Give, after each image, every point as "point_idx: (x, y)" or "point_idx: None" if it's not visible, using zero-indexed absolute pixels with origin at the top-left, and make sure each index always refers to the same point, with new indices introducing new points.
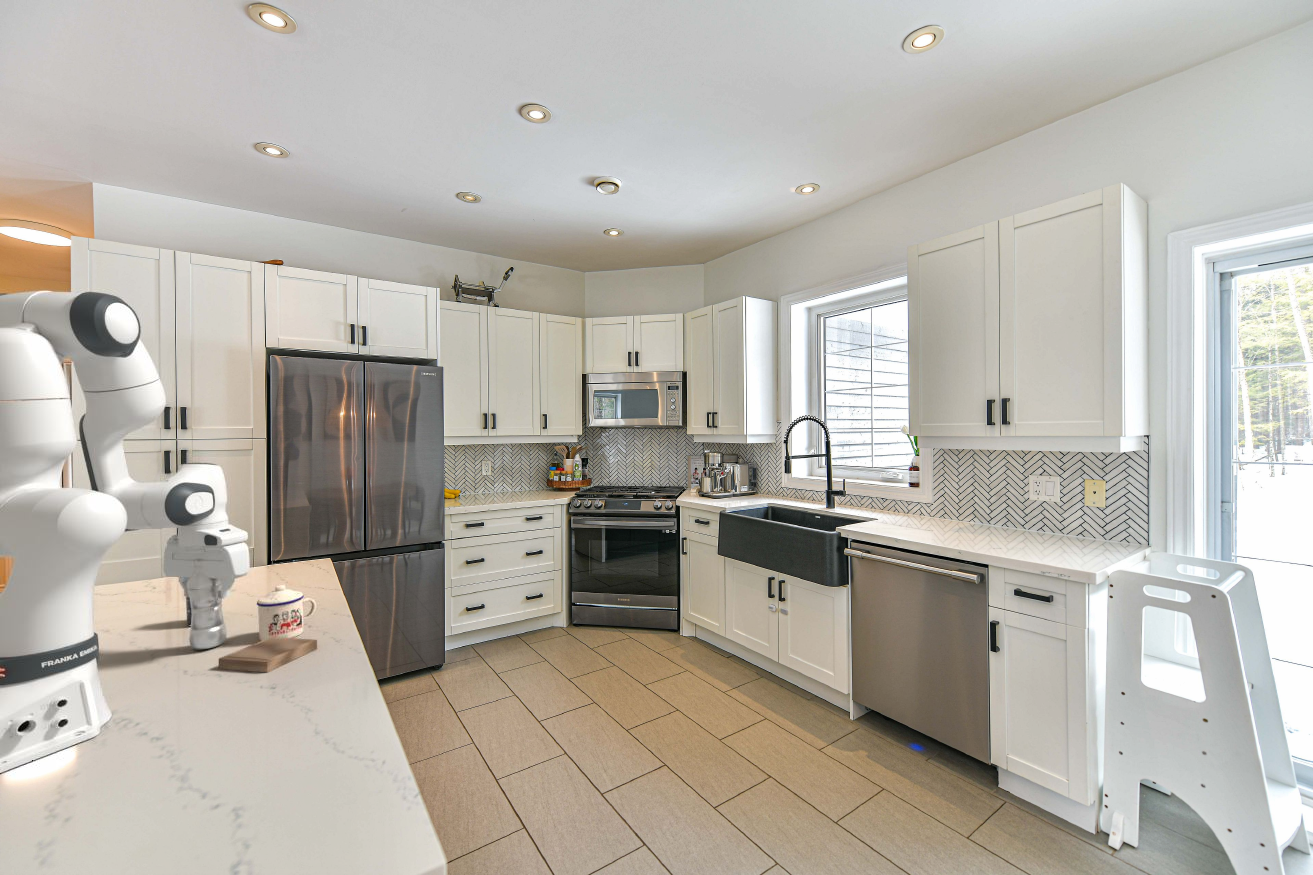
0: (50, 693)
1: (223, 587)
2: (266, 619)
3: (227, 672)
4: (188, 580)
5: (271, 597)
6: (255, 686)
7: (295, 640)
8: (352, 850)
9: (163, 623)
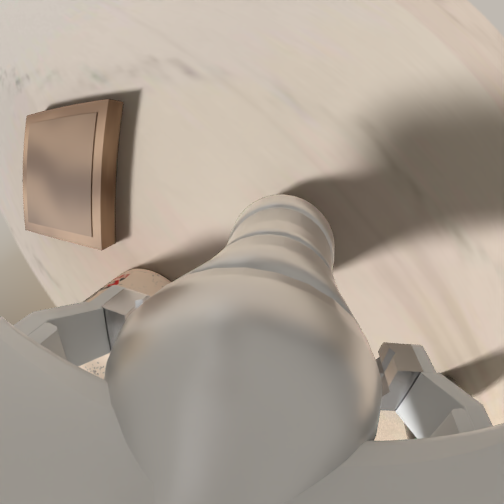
0: None
1: (65, 307)
2: None
3: (94, 92)
4: (332, 371)
5: None
6: (33, 74)
7: (45, 223)
8: None
9: (495, 379)
